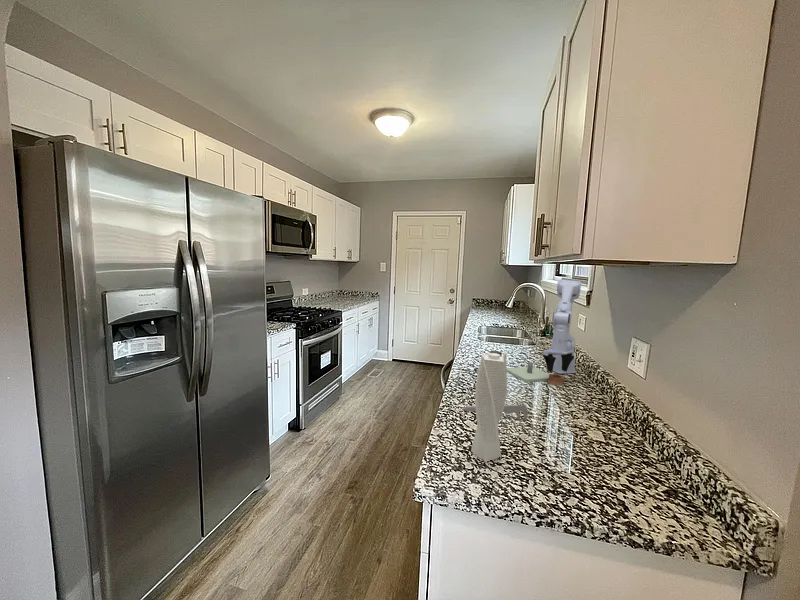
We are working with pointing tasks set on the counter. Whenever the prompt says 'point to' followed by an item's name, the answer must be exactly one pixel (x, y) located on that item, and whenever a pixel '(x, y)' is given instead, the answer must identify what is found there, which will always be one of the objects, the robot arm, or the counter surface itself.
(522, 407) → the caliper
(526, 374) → the post board
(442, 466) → the counter surface
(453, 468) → the counter surface
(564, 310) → the robot arm
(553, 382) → the collar
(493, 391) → the skyscraper
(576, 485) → the counter surface
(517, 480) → the counter surface
